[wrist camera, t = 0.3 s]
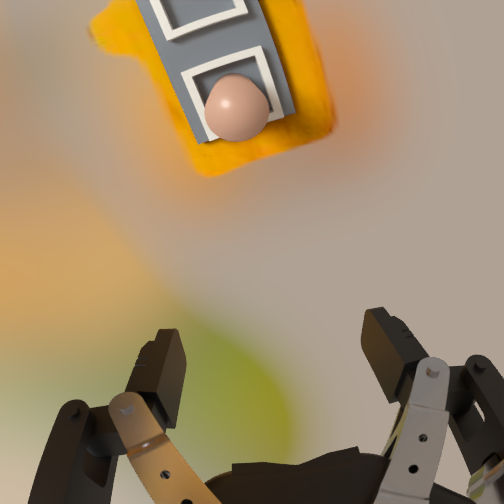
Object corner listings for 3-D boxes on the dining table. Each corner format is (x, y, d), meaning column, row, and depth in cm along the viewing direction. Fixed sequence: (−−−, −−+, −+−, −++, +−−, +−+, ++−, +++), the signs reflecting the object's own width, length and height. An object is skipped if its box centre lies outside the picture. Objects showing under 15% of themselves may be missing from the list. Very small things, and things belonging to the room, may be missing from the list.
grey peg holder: (134, -10, 20) (83, -35, 9) (235, -46, 18) (241, -96, 7) (199, 140, 35) (185, 190, 24) (293, 110, 33) (329, 145, 22)
